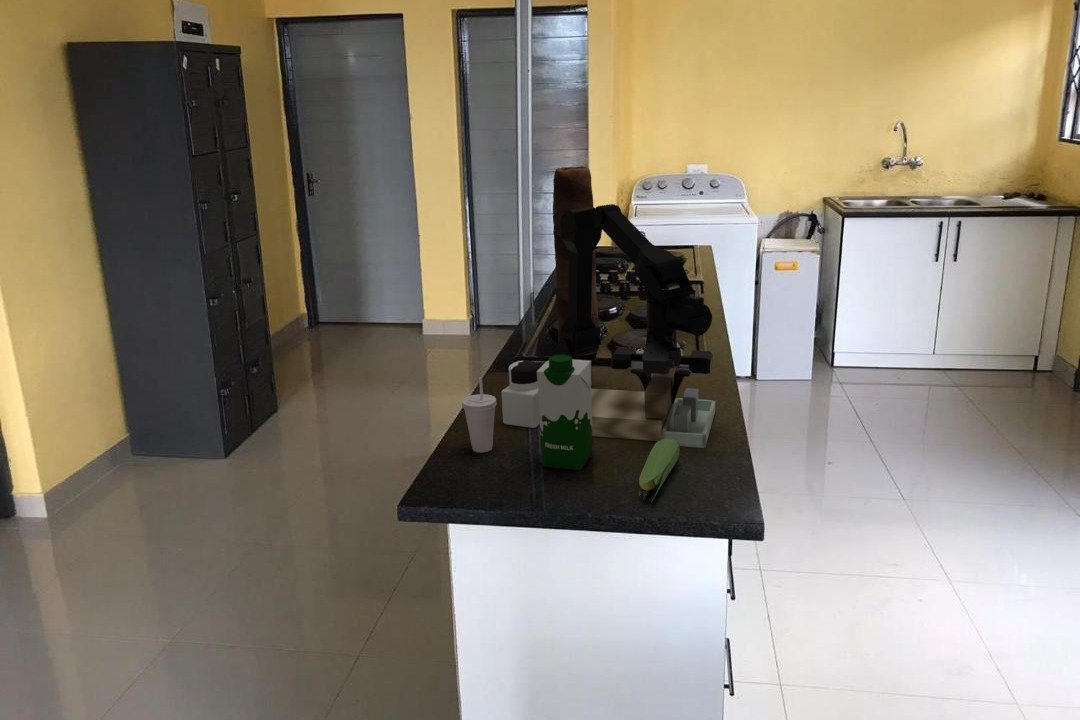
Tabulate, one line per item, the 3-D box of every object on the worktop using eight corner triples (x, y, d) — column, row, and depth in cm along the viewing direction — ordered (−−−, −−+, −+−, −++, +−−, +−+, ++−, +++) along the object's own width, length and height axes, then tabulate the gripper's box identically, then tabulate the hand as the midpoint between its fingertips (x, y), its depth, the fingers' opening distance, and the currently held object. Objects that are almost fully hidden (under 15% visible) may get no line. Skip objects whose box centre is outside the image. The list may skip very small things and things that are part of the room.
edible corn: (687, 437, 152) (662, 427, 154) (658, 490, 135) (631, 478, 136) (678, 461, 155) (654, 452, 156) (649, 516, 137) (623, 505, 138)
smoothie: (494, 456, 158) (490, 384, 154) (460, 454, 159) (455, 383, 155) (503, 442, 164) (498, 372, 160) (470, 440, 165) (465, 371, 161)
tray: (661, 444, 160) (661, 432, 159) (675, 409, 176) (675, 397, 175) (705, 448, 158) (705, 435, 157) (715, 412, 174) (715, 400, 173)
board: (572, 434, 166) (572, 415, 165) (590, 406, 180) (590, 388, 178) (661, 441, 161) (661, 421, 160) (672, 412, 175) (672, 393, 174)
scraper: (645, 417, 161) (644, 392, 160) (657, 391, 174) (656, 367, 172) (666, 418, 160) (666, 393, 158) (677, 391, 173) (676, 368, 171)
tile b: (673, 414, 159) (687, 415, 158) (677, 404, 164) (690, 405, 163) (673, 439, 161) (687, 440, 160) (677, 429, 165) (690, 430, 165)
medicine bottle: (550, 415, 176) (547, 359, 172) (535, 428, 170) (532, 370, 166) (518, 411, 179) (515, 356, 175) (502, 424, 172) (499, 367, 169)
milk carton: (536, 468, 152) (531, 360, 146) (552, 448, 160) (548, 344, 154) (584, 473, 150) (581, 363, 143) (598, 452, 158) (595, 347, 151)
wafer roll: (554, 356, 213) (547, 169, 199) (560, 343, 223) (554, 165, 209) (596, 356, 211) (592, 168, 197) (600, 343, 221) (597, 164, 207)
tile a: (682, 397, 168) (695, 397, 167) (685, 388, 172) (698, 388, 172) (682, 420, 169) (695, 421, 168) (685, 411, 174) (698, 412, 173)
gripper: (603, 334, 157) (605, 414, 162) (707, 338, 152) (706, 421, 157) (616, 318, 167) (617, 393, 172) (714, 321, 162) (712, 399, 167)
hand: (661, 402), depth 167 cm, fingers closed on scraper, 4 cm apart
